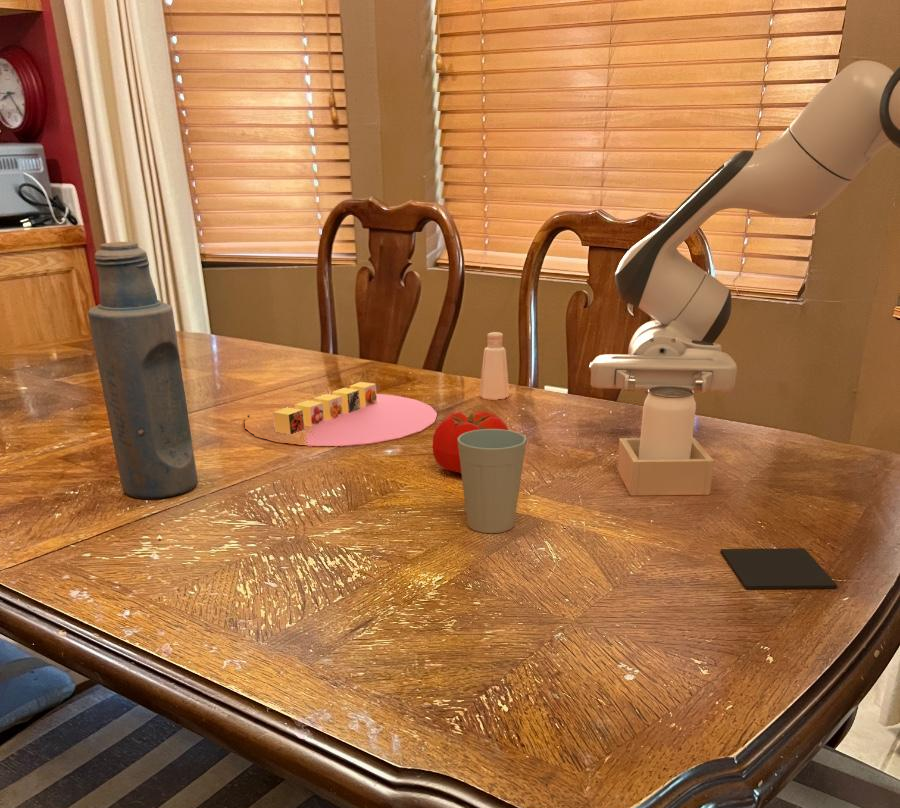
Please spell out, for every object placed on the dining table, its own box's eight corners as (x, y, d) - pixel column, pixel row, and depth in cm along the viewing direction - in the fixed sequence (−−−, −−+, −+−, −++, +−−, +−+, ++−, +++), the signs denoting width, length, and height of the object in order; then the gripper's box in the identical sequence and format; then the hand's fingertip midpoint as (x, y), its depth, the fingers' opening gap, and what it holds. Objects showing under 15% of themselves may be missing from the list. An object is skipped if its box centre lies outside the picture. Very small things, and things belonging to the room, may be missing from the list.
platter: (200, 428, 138) (197, 407, 137) (326, 386, 162) (325, 368, 161) (360, 459, 123) (358, 436, 121) (472, 407, 147) (473, 388, 146)
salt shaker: (477, 400, 152) (478, 336, 147) (480, 392, 157) (480, 330, 152) (508, 400, 151) (509, 336, 146) (510, 393, 156) (511, 330, 151)
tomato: (496, 454, 124) (497, 402, 121) (519, 478, 115) (521, 423, 111) (424, 460, 122) (423, 408, 119) (442, 485, 113) (441, 430, 109)
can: (628, 476, 115) (636, 386, 110) (673, 472, 116) (683, 383, 111) (649, 492, 110) (658, 399, 104) (695, 488, 111) (707, 395, 105)
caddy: (690, 469, 117) (694, 437, 115) (709, 495, 108) (714, 460, 106) (617, 470, 117) (619, 438, 115) (630, 495, 109) (633, 461, 106)
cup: (452, 514, 104) (452, 430, 99) (514, 510, 105) (517, 426, 100) (464, 539, 97) (464, 450, 92) (530, 534, 98) (533, 446, 93)
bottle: (162, 471, 119) (122, 237, 106) (214, 482, 115) (179, 240, 101) (106, 492, 112) (55, 244, 98) (159, 505, 108) (113, 248, 94)
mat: (803, 551, 93) (804, 547, 93) (836, 588, 85) (837, 585, 85) (720, 552, 93) (720, 548, 93) (745, 589, 85) (746, 586, 85)
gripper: (590, 341, 129) (589, 360, 117) (731, 343, 126) (744, 364, 114) (588, 383, 132) (586, 406, 120) (725, 386, 129) (738, 411, 117)
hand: (664, 385), depth 117 cm, fingers open, 8 cm apart
